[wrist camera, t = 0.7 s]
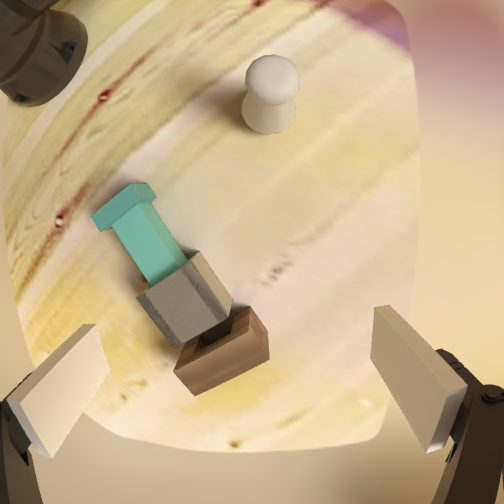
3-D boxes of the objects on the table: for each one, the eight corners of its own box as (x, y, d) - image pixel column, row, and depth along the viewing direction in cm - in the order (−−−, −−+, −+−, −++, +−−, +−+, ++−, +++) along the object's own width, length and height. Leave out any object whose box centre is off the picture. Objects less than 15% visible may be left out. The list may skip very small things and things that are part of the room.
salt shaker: (291, 140, 34) (309, 114, 21) (240, 136, 34) (231, 107, 21) (294, 93, 33) (312, 47, 20) (245, 89, 33) (238, 40, 20)
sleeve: (152, 282, 37) (136, 297, 32) (199, 251, 36) (189, 262, 31) (184, 327, 38) (174, 348, 33) (232, 299, 38) (228, 317, 32)
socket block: (185, 343, 39) (173, 371, 32) (250, 306, 38) (248, 331, 31) (203, 365, 40) (194, 396, 33) (267, 331, 38) (269, 359, 32)
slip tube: (111, 212, 35) (91, 216, 30) (147, 183, 35) (131, 183, 30) (172, 303, 38) (160, 320, 32) (211, 279, 37) (203, 293, 32)
